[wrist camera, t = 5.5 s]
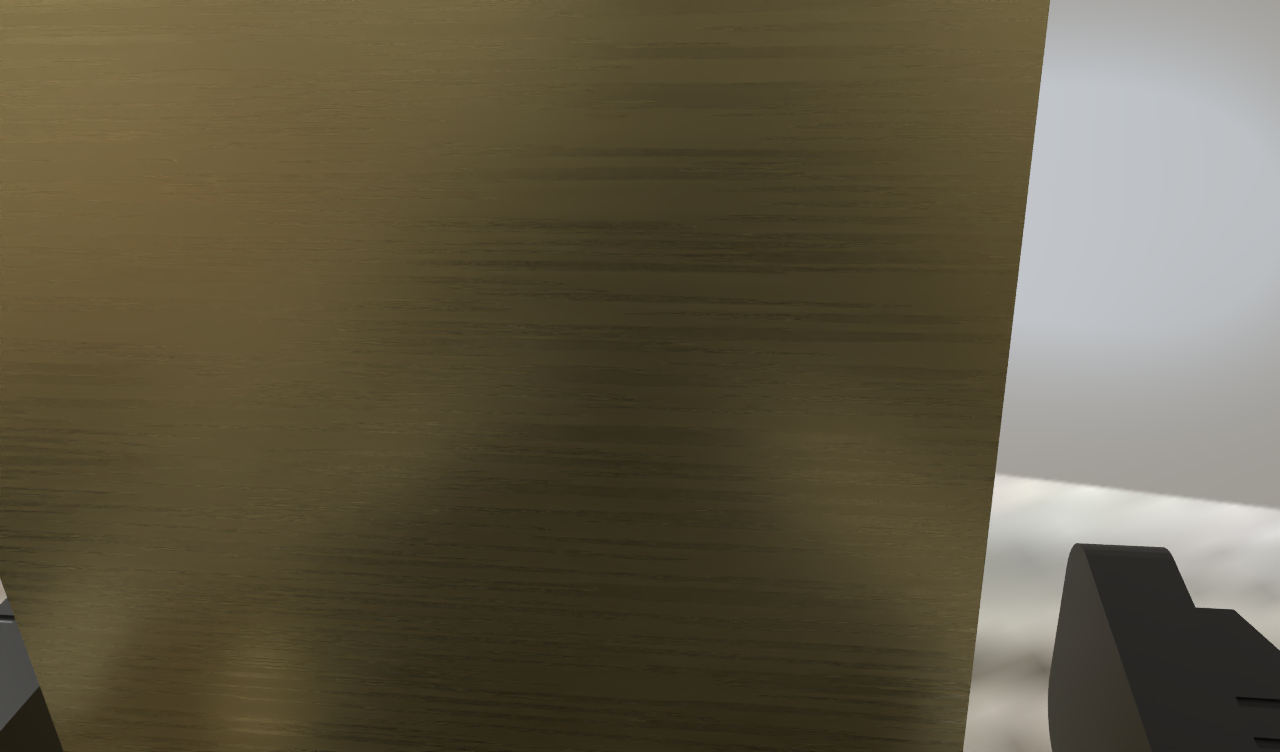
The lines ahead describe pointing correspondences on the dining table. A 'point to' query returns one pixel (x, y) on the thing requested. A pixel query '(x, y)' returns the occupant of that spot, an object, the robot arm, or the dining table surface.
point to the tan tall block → (507, 368)
